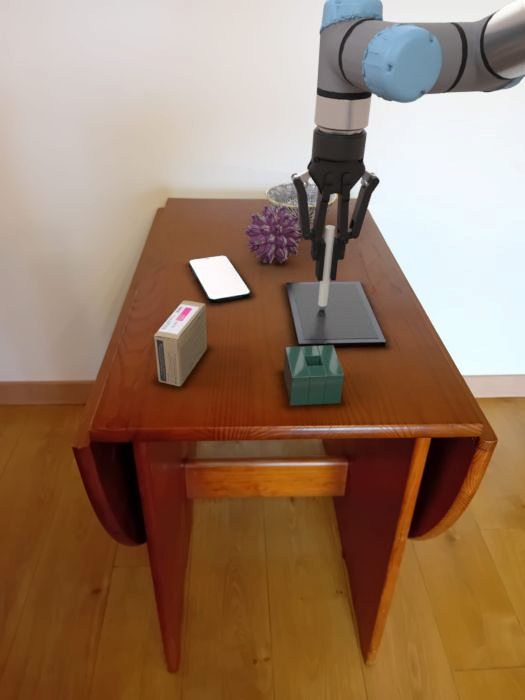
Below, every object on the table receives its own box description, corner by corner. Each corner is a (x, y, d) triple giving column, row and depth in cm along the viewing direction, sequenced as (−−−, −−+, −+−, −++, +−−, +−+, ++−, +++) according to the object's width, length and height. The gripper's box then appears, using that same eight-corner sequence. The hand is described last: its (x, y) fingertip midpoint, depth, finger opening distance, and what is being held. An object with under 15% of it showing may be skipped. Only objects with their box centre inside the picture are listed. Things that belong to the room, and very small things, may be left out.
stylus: (328, 309, 93) (337, 227, 84) (322, 312, 92) (330, 229, 83) (321, 306, 94) (330, 224, 85) (315, 309, 93) (323, 226, 84)
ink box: (186, 344, 85) (183, 298, 81) (209, 349, 85) (207, 302, 80) (156, 382, 78) (151, 334, 73) (181, 388, 77) (177, 339, 72)
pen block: (340, 403, 75) (344, 375, 72) (290, 405, 74) (292, 377, 71) (330, 372, 80) (333, 344, 78) (283, 374, 80) (285, 346, 77)
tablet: (385, 346, 86) (386, 341, 85) (298, 348, 85) (298, 343, 85) (358, 286, 102) (359, 281, 102) (285, 286, 101) (285, 281, 101)
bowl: (256, 233, 121) (256, 200, 117) (275, 208, 134) (276, 178, 129) (325, 243, 118) (329, 210, 113) (339, 217, 130) (342, 186, 126)
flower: (243, 257, 114) (295, 240, 116) (261, 282, 105) (317, 262, 107) (231, 206, 107) (286, 189, 109) (249, 227, 98) (309, 208, 100)
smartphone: (251, 297, 98) (225, 258, 110) (252, 293, 97) (225, 254, 109) (209, 304, 96) (187, 264, 108) (209, 300, 95) (187, 260, 107)
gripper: (383, 121, 79) (362, 265, 93) (285, 121, 78) (278, 267, 92) (398, 134, 73) (374, 286, 87) (292, 134, 72) (284, 289, 86)
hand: (325, 276), depth 89 cm, fingers closed on stylus, 1 cm apart
